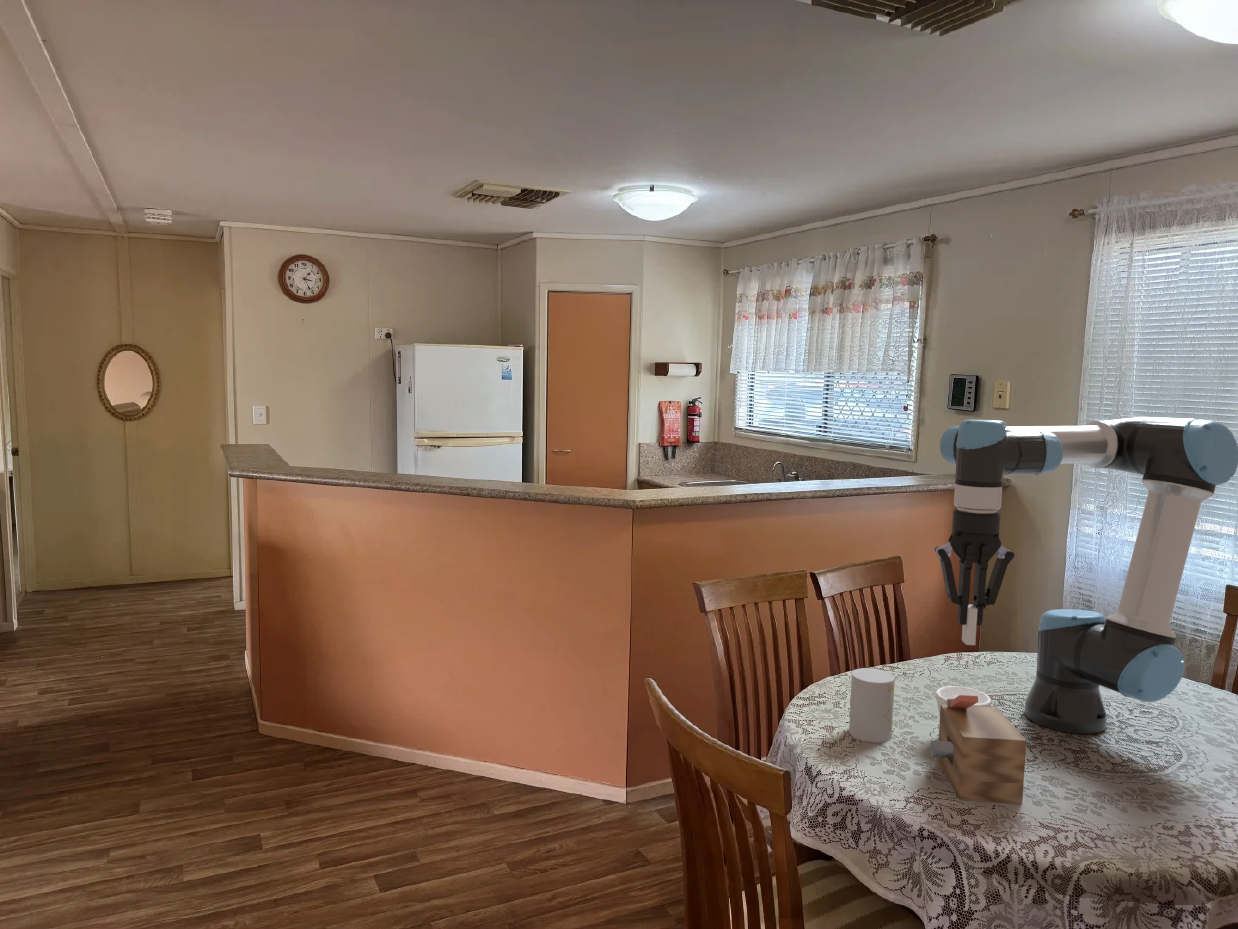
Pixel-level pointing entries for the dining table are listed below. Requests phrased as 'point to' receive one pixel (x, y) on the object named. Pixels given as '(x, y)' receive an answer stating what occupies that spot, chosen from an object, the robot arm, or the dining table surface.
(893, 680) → the cup
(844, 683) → the dining table surface
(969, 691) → the cup
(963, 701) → the keeper tab
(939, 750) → the hitch pin
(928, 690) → the dining table surface
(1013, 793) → the block
